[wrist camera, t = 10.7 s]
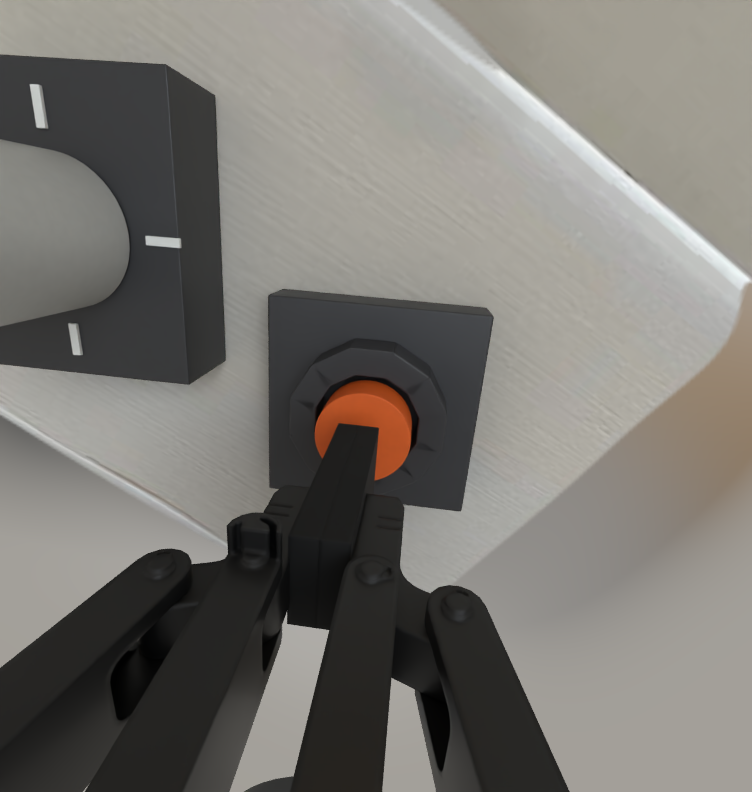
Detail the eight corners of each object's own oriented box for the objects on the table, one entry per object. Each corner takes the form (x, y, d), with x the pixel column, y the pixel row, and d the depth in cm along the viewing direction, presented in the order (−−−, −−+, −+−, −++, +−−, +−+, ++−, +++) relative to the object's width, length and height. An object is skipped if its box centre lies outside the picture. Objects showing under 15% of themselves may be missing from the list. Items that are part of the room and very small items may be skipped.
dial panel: (227, 360, 24) (189, 386, 20) (44, 341, 25) (-26, 363, 21) (217, 95, 20) (166, 62, 16) (-3, 81, 21) (-103, 46, 17)
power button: (407, 466, 21) (405, 486, 19) (321, 456, 21) (312, 475, 20) (416, 384, 20) (415, 399, 18) (324, 375, 20) (315, 388, 18)
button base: (458, 489, 25) (464, 534, 22) (281, 467, 26) (257, 508, 22) (487, 307, 22) (500, 324, 18) (282, 288, 22) (253, 300, 19)
